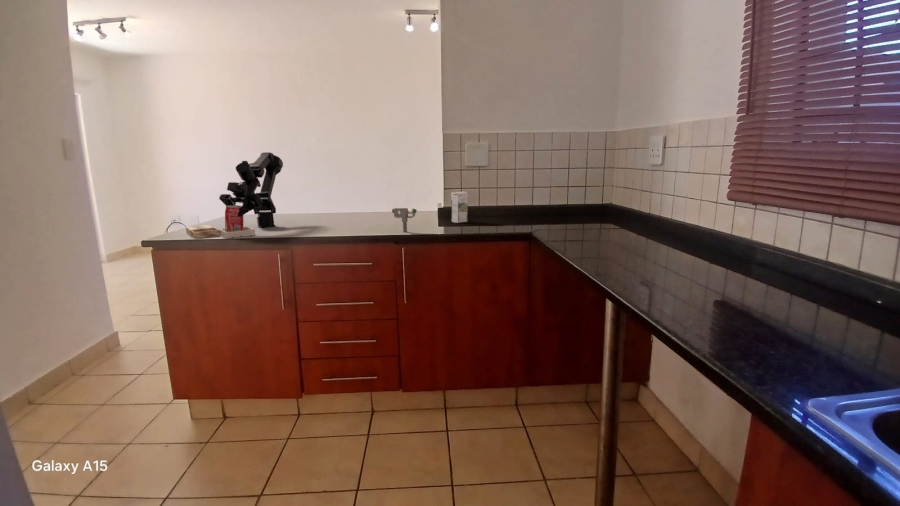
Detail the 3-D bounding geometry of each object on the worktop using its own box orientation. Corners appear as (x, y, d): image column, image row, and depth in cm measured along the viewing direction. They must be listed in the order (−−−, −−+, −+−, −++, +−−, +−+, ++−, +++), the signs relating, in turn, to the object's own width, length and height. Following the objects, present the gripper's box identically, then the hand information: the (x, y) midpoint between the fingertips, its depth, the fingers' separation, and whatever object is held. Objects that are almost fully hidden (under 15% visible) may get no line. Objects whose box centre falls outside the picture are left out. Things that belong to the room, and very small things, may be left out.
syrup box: (461, 220, 228) (460, 191, 225) (468, 222, 223) (467, 191, 220) (451, 222, 225) (450, 191, 222) (458, 223, 220) (457, 192, 217)
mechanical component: (415, 232, 195) (414, 209, 193) (392, 232, 197) (391, 208, 195) (417, 231, 198) (416, 208, 196) (394, 231, 200) (393, 208, 198)
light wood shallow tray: (210, 230, 212) (210, 224, 212) (219, 235, 197) (219, 229, 196) (186, 232, 207) (185, 227, 206) (194, 238, 191) (193, 232, 191)
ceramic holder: (248, 231, 206) (247, 226, 205) (255, 235, 197) (254, 229, 196) (219, 234, 199) (218, 229, 199) (225, 238, 190) (224, 232, 190)
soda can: (234, 232, 203) (234, 204, 200) (247, 234, 200) (247, 206, 198) (221, 233, 196) (221, 205, 194) (234, 236, 194) (234, 207, 191)
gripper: (219, 175, 199) (202, 203, 191) (255, 175, 194) (239, 204, 186) (235, 192, 208) (219, 220, 200) (270, 192, 203) (254, 221, 195)
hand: (232, 216), depth 195 cm, fingers closed on soda can, 6 cm apart
